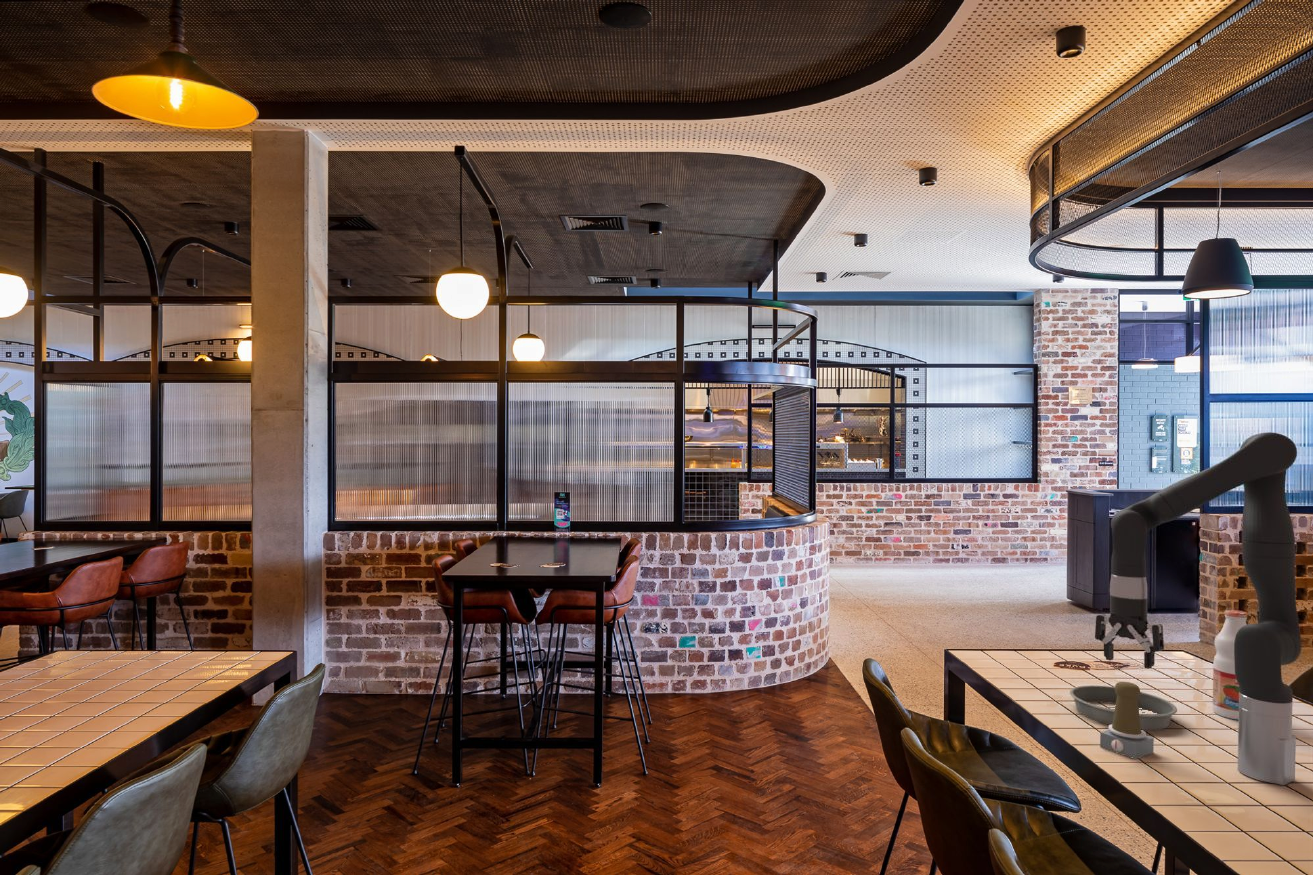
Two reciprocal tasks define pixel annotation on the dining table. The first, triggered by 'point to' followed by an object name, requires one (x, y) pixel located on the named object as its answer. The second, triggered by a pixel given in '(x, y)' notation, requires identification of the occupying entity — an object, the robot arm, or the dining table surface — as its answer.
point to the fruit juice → (1227, 667)
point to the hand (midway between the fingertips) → (1128, 663)
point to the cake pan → (1106, 715)
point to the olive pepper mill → (1127, 709)
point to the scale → (1127, 743)
